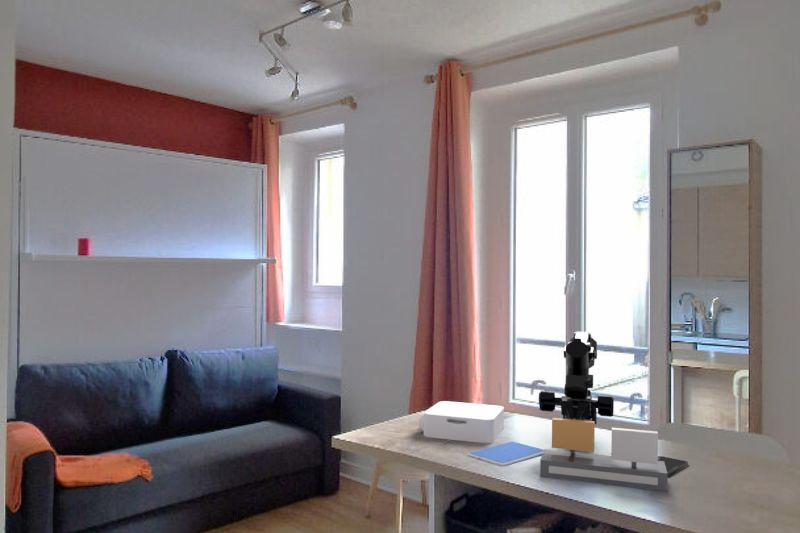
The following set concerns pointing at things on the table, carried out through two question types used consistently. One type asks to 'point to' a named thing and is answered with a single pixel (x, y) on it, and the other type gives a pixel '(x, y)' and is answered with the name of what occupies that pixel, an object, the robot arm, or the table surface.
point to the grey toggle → (634, 446)
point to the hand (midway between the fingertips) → (574, 431)
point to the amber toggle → (573, 434)
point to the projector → (463, 421)
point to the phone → (673, 465)
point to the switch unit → (602, 470)
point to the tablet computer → (506, 453)
